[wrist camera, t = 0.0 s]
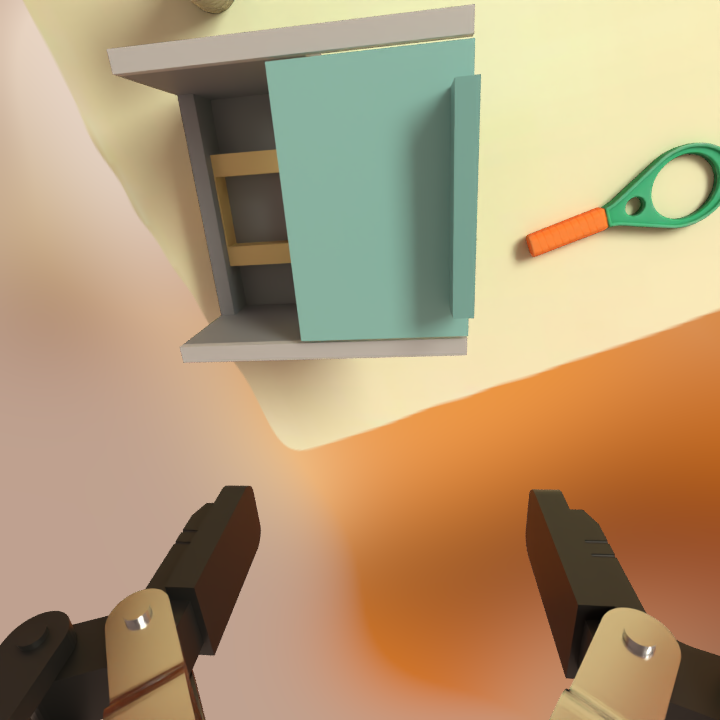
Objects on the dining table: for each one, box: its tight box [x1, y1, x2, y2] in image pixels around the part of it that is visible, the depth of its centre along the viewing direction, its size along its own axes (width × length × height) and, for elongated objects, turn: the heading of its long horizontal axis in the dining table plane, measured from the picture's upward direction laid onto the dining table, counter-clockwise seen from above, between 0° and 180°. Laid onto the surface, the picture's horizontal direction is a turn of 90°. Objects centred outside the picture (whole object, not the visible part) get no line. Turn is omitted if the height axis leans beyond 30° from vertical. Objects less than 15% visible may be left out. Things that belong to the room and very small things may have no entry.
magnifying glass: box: [526, 143, 720, 257], centre depth 35 cm, size 15×6×2 cm, turn 113°
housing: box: [107, 4, 475, 363], centre depth 32 cm, size 19×20×12 cm
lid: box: [265, 38, 481, 341], centre depth 25 cm, size 16×11×3 cm
